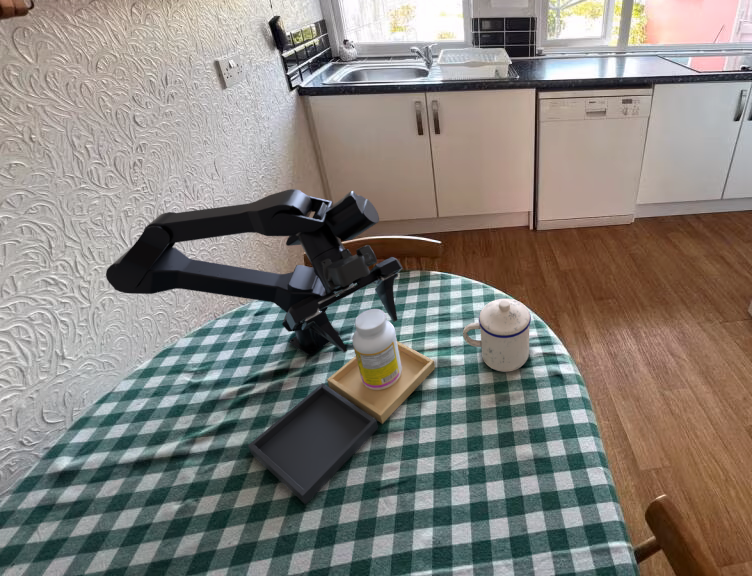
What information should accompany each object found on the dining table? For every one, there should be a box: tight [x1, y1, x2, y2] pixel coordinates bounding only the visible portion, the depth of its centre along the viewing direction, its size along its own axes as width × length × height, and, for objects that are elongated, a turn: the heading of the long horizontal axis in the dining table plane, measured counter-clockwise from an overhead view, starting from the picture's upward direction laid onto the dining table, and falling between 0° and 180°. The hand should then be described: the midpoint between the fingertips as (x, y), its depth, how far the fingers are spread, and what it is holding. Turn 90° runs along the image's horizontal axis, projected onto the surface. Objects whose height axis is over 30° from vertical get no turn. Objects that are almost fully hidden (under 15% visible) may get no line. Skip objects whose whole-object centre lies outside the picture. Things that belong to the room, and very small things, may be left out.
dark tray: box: [247, 383, 379, 505], centre depth 61 cm, size 13×12×2 cm
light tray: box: [326, 340, 436, 425], centre depth 71 cm, size 13×12×2 cm
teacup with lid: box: [462, 298, 532, 373], centre depth 73 cm, size 12×9×12 cm
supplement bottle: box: [352, 308, 402, 390], centre depth 68 cm, size 7×7×13 cm
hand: (371, 335), depth 68 cm, fingers open, 9 cm apart
